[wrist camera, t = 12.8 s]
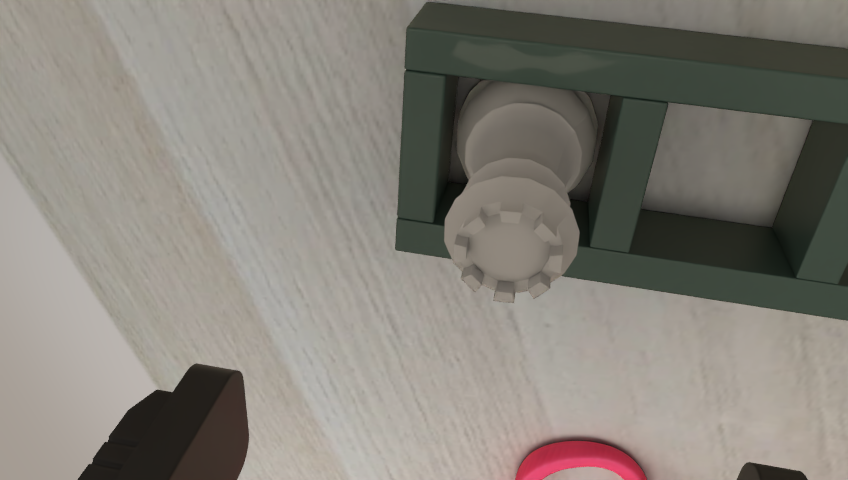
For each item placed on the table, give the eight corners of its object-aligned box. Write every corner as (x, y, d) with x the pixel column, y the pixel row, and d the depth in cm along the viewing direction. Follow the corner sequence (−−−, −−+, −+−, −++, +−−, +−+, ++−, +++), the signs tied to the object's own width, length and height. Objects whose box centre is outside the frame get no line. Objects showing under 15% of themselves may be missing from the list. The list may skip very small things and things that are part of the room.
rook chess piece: (556, 31, 21) (547, 135, 14) (621, 151, 23) (641, 295, 16) (433, 101, 23) (375, 222, 16) (502, 207, 25) (474, 358, 18)
